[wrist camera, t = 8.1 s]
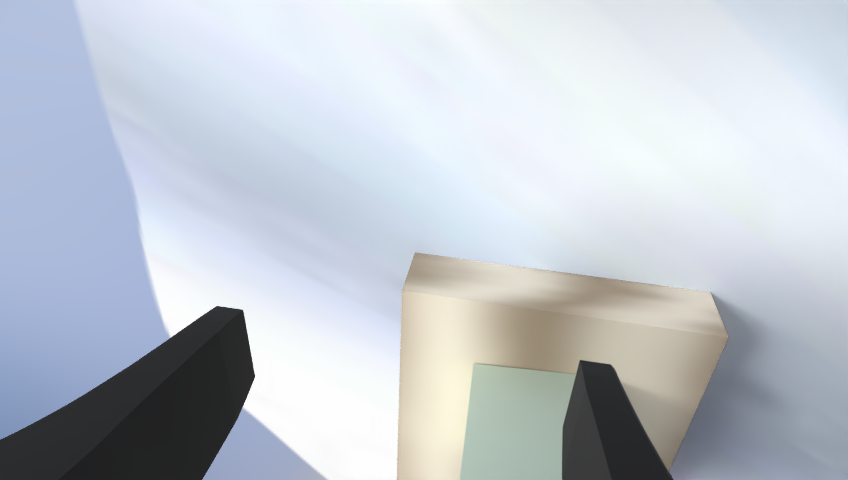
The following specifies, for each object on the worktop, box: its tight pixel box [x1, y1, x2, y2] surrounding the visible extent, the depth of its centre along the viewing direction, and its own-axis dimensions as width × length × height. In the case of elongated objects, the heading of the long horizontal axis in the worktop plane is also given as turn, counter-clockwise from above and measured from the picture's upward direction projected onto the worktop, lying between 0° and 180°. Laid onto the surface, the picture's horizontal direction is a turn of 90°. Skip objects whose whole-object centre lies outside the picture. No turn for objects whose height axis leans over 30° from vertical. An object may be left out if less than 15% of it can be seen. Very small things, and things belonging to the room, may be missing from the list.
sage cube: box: [460, 364, 576, 480], centre depth 20 cm, size 5×5×5 cm
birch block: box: [397, 253, 729, 480], centre depth 23 cm, size 11×11×3 cm
